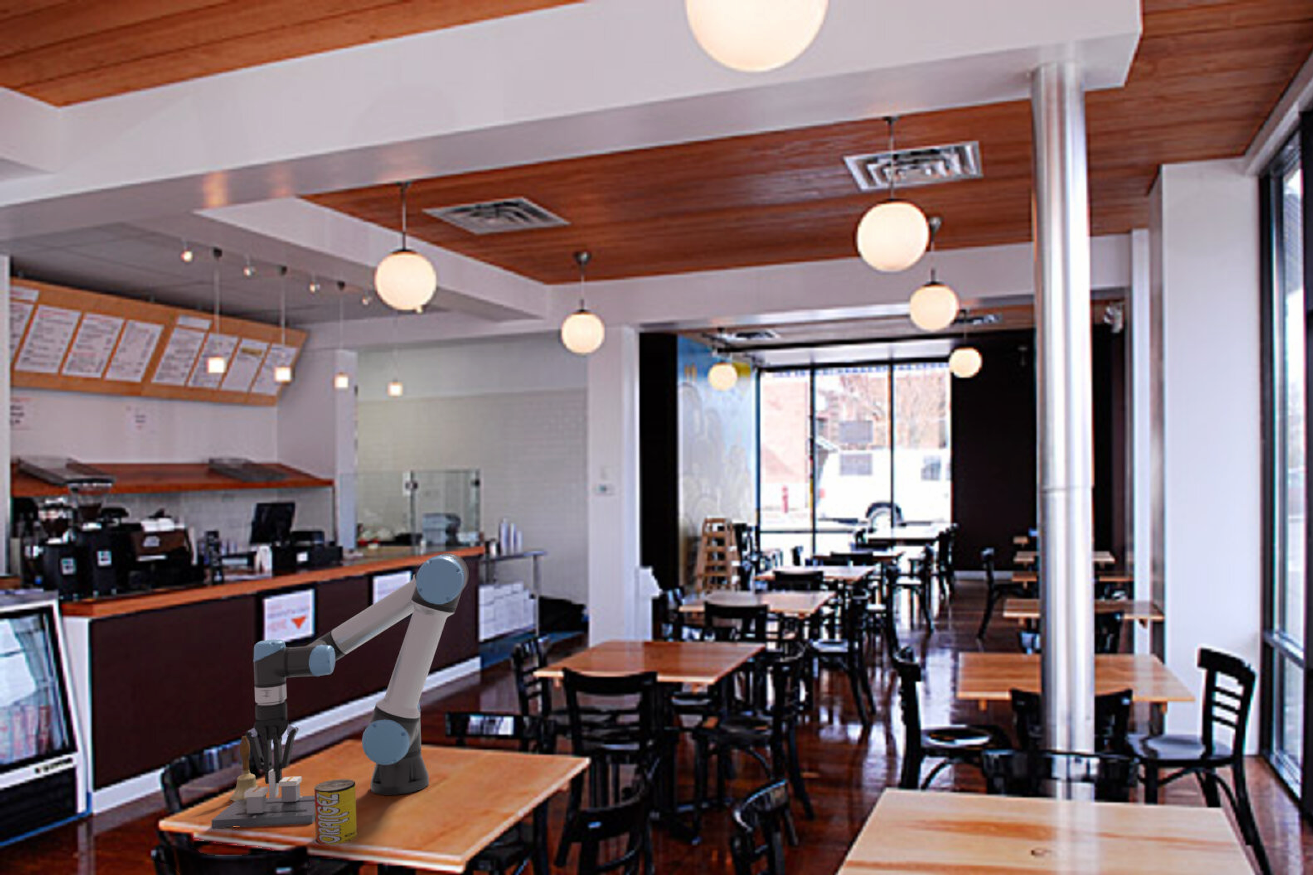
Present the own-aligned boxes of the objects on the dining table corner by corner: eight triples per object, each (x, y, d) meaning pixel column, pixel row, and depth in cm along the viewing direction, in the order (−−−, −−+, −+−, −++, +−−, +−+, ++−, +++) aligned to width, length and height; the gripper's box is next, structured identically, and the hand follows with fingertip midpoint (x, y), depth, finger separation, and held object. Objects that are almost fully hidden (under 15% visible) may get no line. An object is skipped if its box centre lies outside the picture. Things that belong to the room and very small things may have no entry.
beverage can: (315, 834, 236) (313, 782, 237) (355, 828, 240) (353, 777, 240) (316, 847, 228) (315, 793, 228) (358, 840, 231) (356, 787, 232)
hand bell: (251, 802, 264) (250, 740, 265) (223, 801, 266) (221, 739, 266) (269, 792, 272) (268, 732, 273) (242, 791, 274) (240, 732, 274)
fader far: (302, 796, 258) (301, 775, 259) (297, 801, 254) (296, 779, 255) (284, 797, 258) (284, 776, 259) (279, 802, 254) (278, 780, 255)
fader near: (268, 807, 250) (268, 785, 250) (262, 813, 246) (262, 790, 247) (250, 808, 250) (250, 786, 250) (244, 814, 246) (244, 791, 246)
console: (331, 802, 260) (331, 794, 261) (312, 823, 244) (311, 814, 245) (237, 807, 260) (237, 798, 260) (211, 828, 244) (211, 819, 244)
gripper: (239, 706, 253) (242, 802, 252) (291, 703, 254) (295, 799, 253) (250, 700, 261) (253, 792, 260) (301, 697, 261) (304, 790, 260)
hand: (274, 795), depth 256 cm, fingers closed
